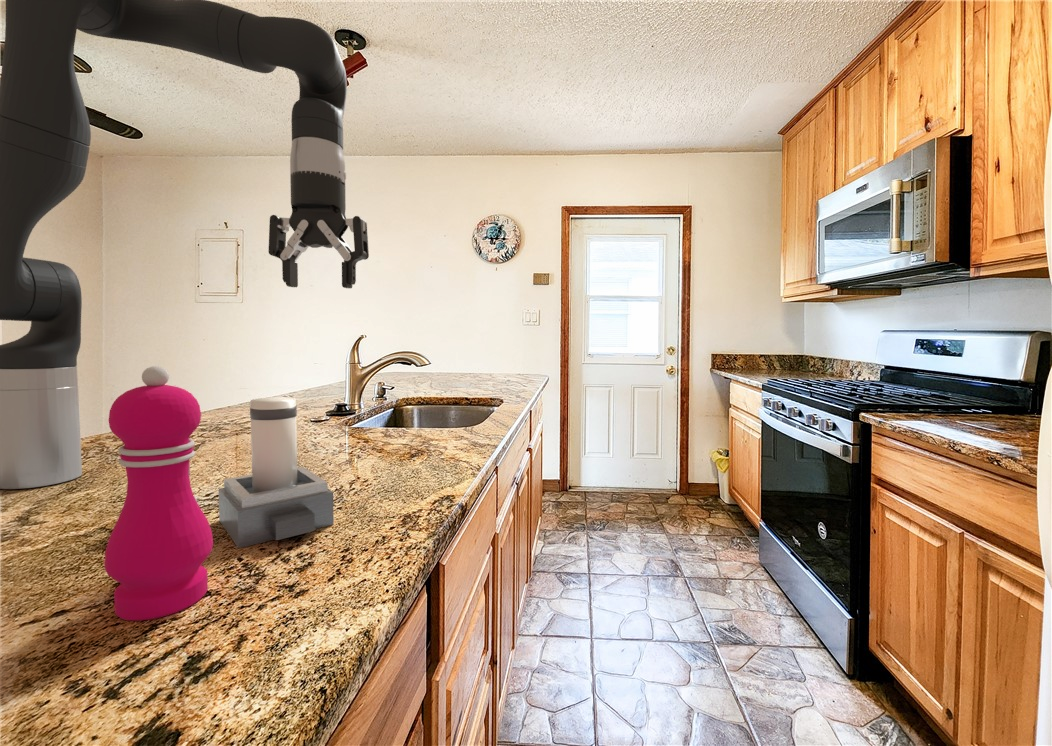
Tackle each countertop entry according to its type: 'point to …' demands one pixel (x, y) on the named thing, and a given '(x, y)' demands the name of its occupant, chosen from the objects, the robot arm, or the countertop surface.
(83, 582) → the countertop surface
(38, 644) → the countertop surface
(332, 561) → the countertop surface
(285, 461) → the white banded cylinder
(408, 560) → the countertop surface
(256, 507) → the block
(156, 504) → the pepper mill
